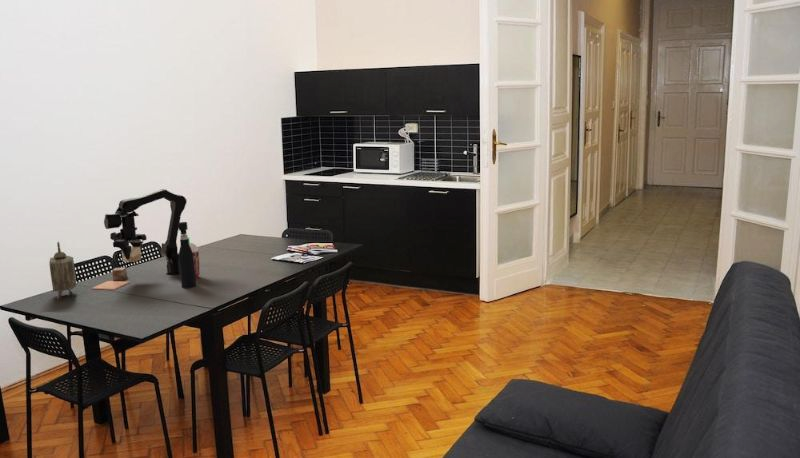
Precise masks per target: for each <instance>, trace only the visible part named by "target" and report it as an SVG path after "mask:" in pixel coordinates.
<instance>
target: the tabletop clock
mask: <svg viewBox="0 0 800 458" xmlns="http://www.w3.org/2000/svg"><path fill="white" fill-rule="evenodd" d="M56 244H57V246H56V247H57V252H56V253H54V254H53V257H50V259H49V262H48V263H49V265H48V266H49V271H50V279H51V286H52V292H57V293H58V295H57V296H56V299H57V301H58V300H61V299H62V297H61V295H62V294H63V292H64V291H67V290H68V292H69V293H68V295H69V296H73V294H74V293H73V291H71V290H73V289H74V288H76V287H77V276H76V268H75V262H74V257H73V256H70V255H67V254H66V252H65V251H61V246H60V241H57V243H56Z"/></svg>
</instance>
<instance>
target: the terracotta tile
mask: <svg viewBox="0 0 800 458" xmlns="http://www.w3.org/2000/svg"><path fill="white" fill-rule="evenodd" d="M128 284H131V282H130V281H124V280H107V281H105V282H103V283H100V284H98V285H96V286H93V287H92V288H91V290H100V291H101V290H102V291H103V290H104V291H106V290H107V291H115V290H118V289H121V288H122V287H124V286H127V285H128Z"/></svg>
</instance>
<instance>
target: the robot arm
mask: <svg viewBox="0 0 800 458" xmlns="http://www.w3.org/2000/svg"><path fill="white" fill-rule="evenodd" d="M161 199H165V200H167V201H168V202H169V203H170V206H169V207H170V211H171V213H170V217H169V218H170V220H169V225H168V231H167V236H166V241H165V242H164V243H163V242H162V243H161V248H160V250H159V251H160V252H161V256H162V257H163V258H164V259H165V261H166V275H181V273H180V263H179V251H178V244H177V239H178V234H179V226H178V223H180V222H181V216H182V213H183V211H184V210H185V208H186V205H187V198H186V197H185V196H183V195H180V194H175V193H173V192H171V191H169V190H167V189H165V188H161V189H159V190H156V191H153V192H150V193H148V194H144V195H142V196H138V197H133V198H126V199H122V200H120V201H119V202H118V207H117V208H116V210H115V212H114V213H105V215H104V218H103V219H104V221H103V224H104V228H105V229H106V230H110V229H117V228H118V229H119V228H120V227H121V228H120V229H119V232H115V231H114V232H111V233H110V236H109V237H110V240H112V241H113V242H112V246H113V248H117V249H120V250H121V252H122V251H123V253H124V255H125V257H126V259H127V260H129V258H130V252H131V247H140V248H141V247H142V246H143V244H144V241H148V240H147V235H146V234H145V233H136V231H137V230H138V227H137V226H136V222H135V217H138V216H139V215H140V214H138V213H137V212H136V210H139V208H140V207H142V206H144V205H146V204H150V203H153V202H155V201H159V200H161Z"/></svg>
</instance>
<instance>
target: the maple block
mask: <svg viewBox="0 0 800 458" xmlns="http://www.w3.org/2000/svg"><path fill="white" fill-rule="evenodd" d="M141 253H142V252H141V247H132V246H131V252H130V258H129V260H127V259H126V257H125V255H124V253H123V251H122V250H121V256H122V257H121V258H122V262H126V263H135V262H137V261H140V260H142V254H141Z"/></svg>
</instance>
